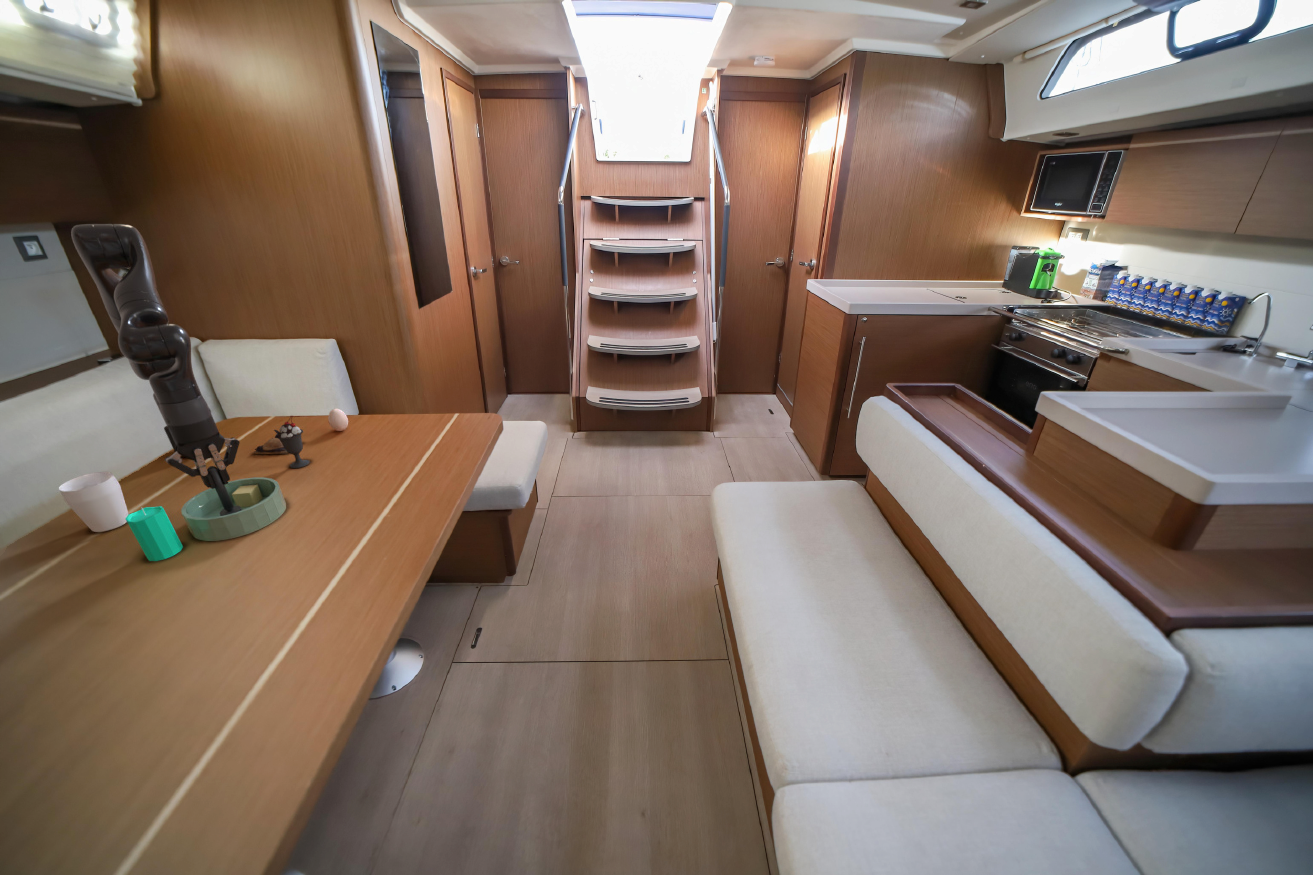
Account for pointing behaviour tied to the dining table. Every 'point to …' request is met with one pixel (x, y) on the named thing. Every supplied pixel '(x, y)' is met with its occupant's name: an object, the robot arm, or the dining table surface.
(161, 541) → the candle
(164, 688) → the dining table surface
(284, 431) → the sundae
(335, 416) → the egg
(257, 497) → the block
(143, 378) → the robot arm
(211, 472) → the dark grey plunger
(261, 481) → the bowl
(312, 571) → the dining table surface
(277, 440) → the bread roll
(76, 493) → the cup
